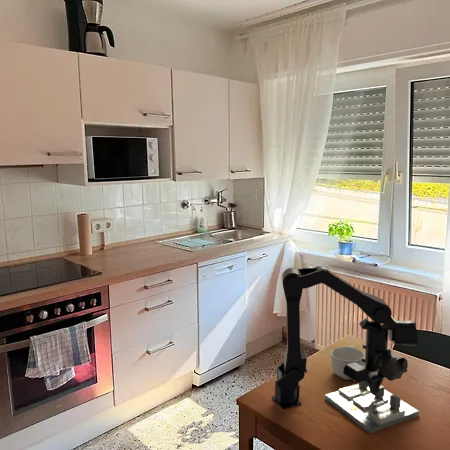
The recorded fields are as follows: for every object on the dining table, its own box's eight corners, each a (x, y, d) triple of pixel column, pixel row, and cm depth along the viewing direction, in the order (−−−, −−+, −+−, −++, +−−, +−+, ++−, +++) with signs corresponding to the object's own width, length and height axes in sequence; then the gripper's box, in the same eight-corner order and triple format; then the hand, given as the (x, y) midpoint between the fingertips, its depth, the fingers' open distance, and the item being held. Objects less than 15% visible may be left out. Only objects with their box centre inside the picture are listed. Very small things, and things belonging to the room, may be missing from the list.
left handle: (363, 388, 126) (364, 379, 125) (358, 385, 127) (359, 376, 127) (368, 387, 126) (368, 377, 126) (363, 384, 128) (363, 374, 128)
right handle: (395, 409, 115) (395, 399, 114) (389, 405, 117) (390, 395, 116) (400, 407, 116) (400, 397, 115) (394, 404, 117) (394, 394, 117)
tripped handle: (379, 398, 120) (379, 388, 120) (374, 394, 122) (374, 385, 122) (384, 396, 121) (384, 387, 121) (378, 393, 123) (379, 383, 122)
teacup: (357, 387, 131) (358, 363, 130) (324, 377, 138) (325, 354, 137) (371, 370, 142) (372, 347, 141) (341, 361, 149) (341, 339, 148)
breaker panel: (369, 433, 109) (369, 424, 108) (325, 399, 125) (325, 391, 124) (418, 415, 116) (419, 407, 116) (370, 385, 132) (371, 377, 132)
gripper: (372, 361, 107) (369, 418, 109) (424, 348, 115) (420, 401, 117) (343, 344, 117) (340, 397, 119) (392, 333, 125) (389, 383, 127)
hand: (373, 394), depth 120 cm, fingers closed
